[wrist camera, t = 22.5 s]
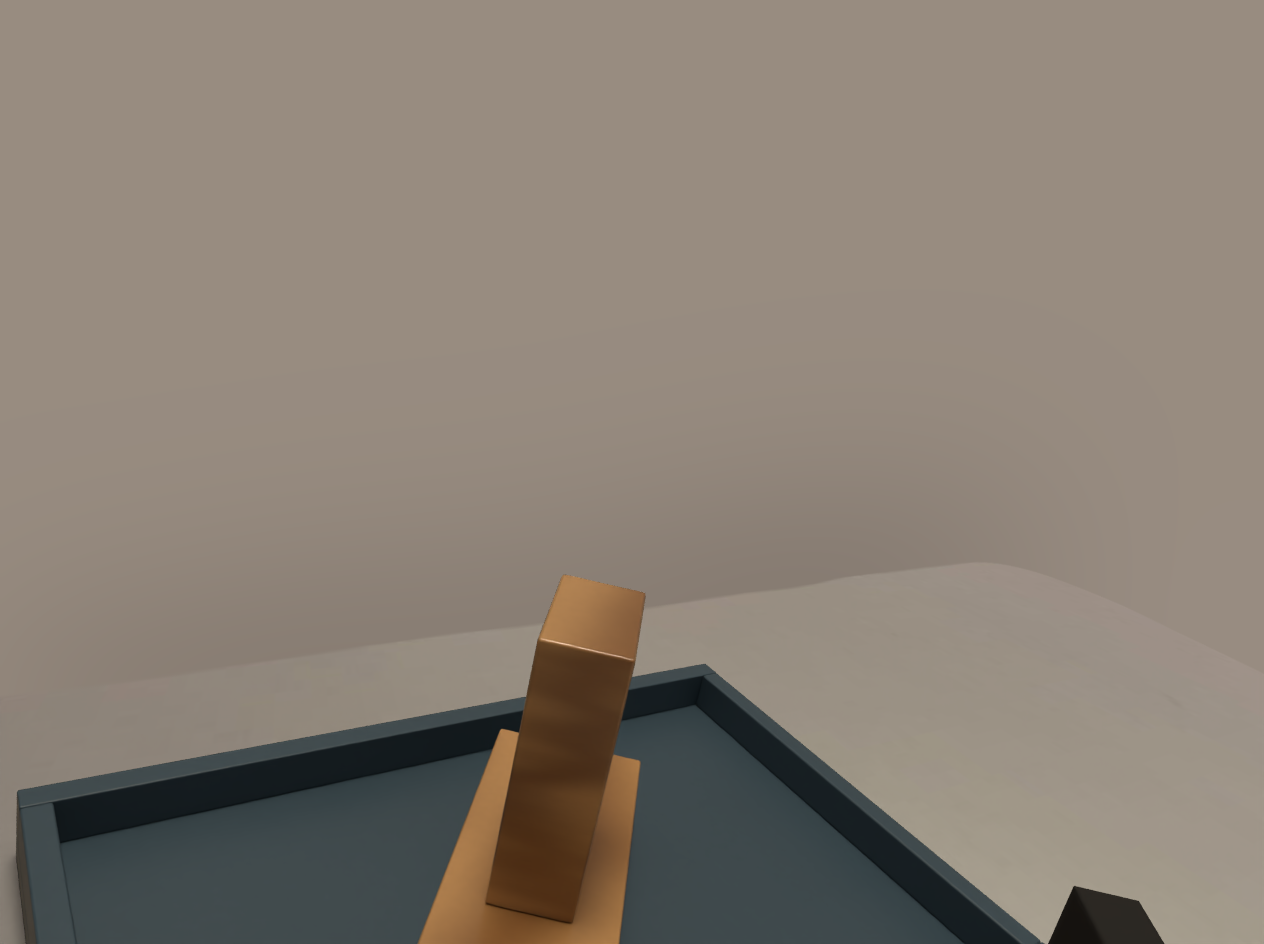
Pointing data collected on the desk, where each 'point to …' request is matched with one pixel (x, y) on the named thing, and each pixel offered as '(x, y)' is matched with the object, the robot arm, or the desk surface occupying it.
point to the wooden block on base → (554, 791)
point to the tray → (435, 813)
